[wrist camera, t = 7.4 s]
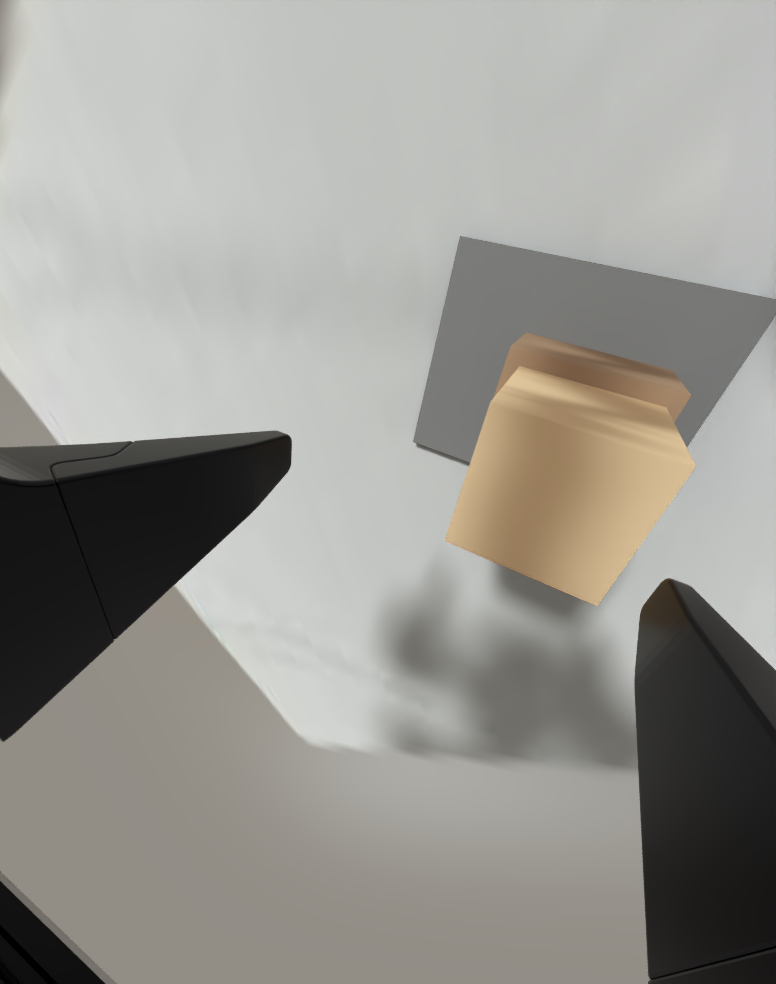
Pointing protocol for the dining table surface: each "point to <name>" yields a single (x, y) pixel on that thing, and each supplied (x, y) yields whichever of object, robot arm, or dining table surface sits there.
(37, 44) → the dining table surface
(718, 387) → the slate mat
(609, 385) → the walnut block
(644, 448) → the oak cube
